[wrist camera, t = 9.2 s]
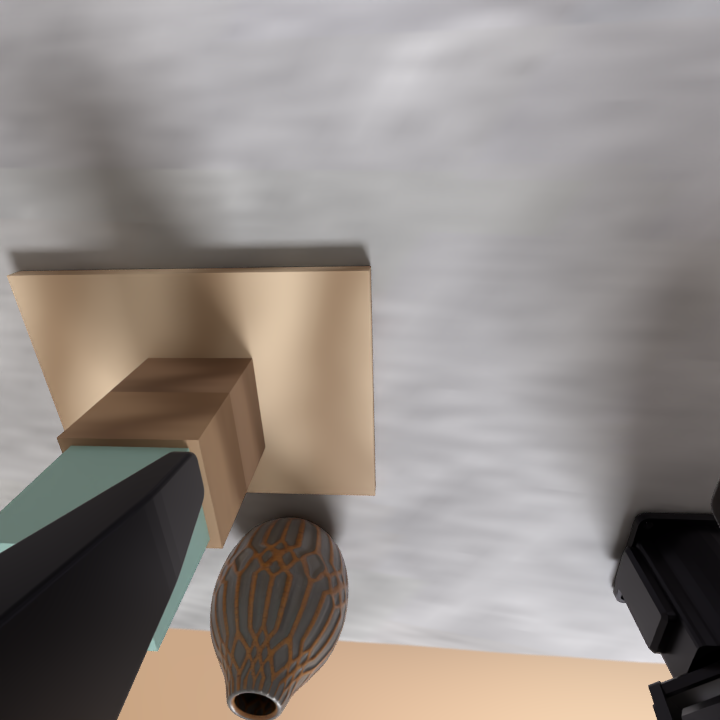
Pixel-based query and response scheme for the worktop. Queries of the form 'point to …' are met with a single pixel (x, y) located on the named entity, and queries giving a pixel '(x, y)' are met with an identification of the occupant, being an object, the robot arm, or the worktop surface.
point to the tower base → (209, 378)
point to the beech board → (225, 353)
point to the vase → (277, 613)
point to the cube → (83, 482)
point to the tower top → (175, 441)
